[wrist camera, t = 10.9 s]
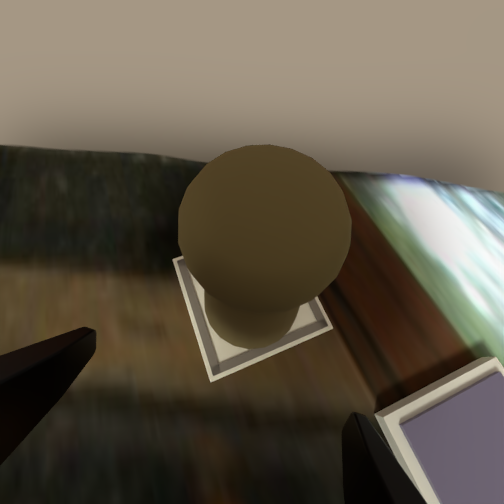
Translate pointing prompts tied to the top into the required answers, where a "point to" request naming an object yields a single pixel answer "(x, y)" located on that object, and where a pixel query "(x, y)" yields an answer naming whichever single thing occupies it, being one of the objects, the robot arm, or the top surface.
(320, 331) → the white flat square piece
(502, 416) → the ink pad
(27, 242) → the top surface
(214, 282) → the brown peg figure
